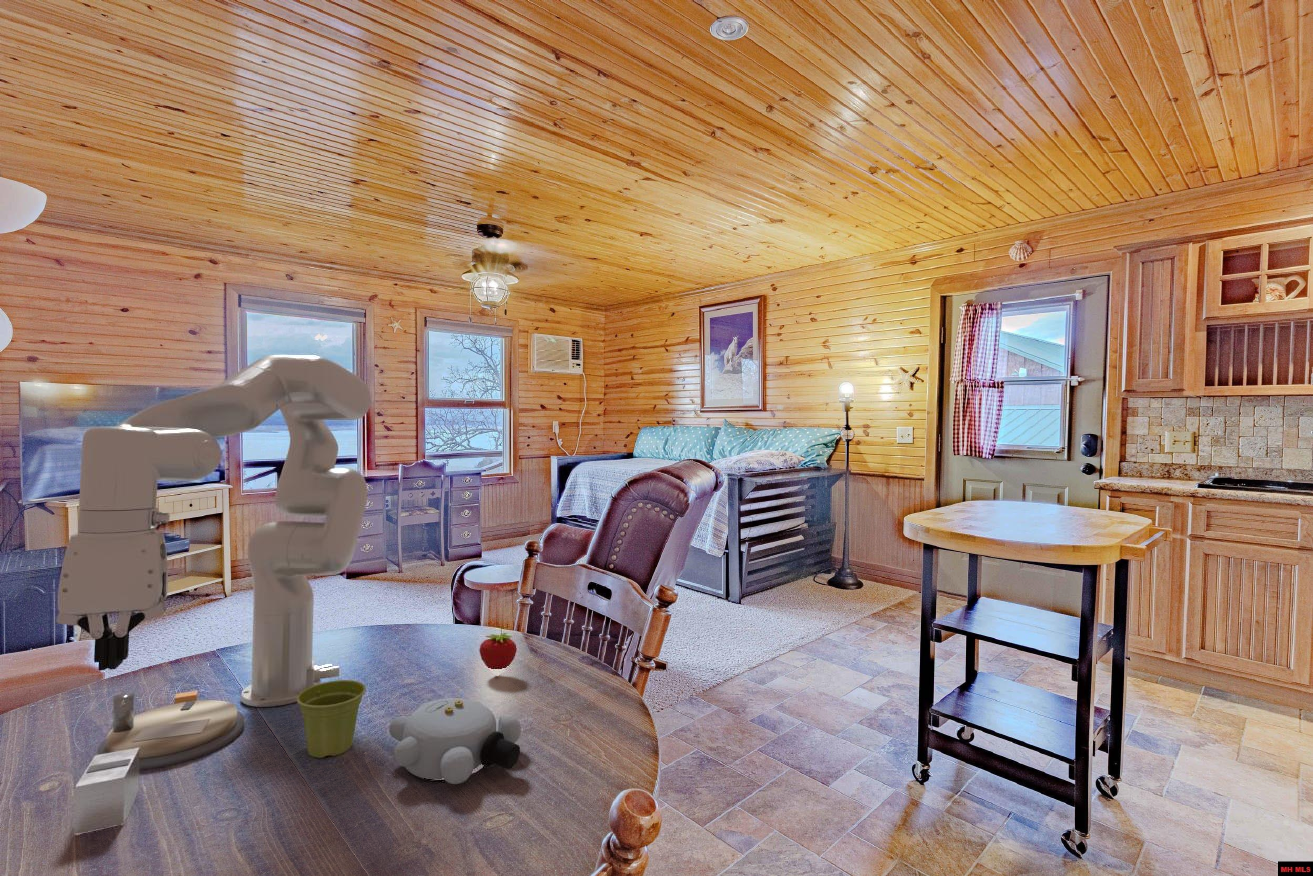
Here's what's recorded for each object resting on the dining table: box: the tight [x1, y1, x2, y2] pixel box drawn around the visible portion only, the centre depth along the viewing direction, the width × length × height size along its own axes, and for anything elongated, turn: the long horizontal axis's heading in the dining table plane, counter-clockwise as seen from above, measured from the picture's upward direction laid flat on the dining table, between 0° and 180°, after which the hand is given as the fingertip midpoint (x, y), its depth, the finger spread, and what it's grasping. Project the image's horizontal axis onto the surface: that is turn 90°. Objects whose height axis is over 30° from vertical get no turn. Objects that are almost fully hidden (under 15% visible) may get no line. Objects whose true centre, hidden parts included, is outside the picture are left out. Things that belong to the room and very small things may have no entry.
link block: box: [73, 747, 140, 834], centre depth 78 cm, size 4×8×6 cm, turn 30°
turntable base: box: [96, 690, 245, 771], centre depth 97 cm, size 18×20×3 cm
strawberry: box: [478, 625, 517, 669], centre depth 124 cm, size 6×8×10 cm
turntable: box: [106, 692, 238, 758], centre depth 96 cm, size 16×16×6 cm
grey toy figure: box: [389, 697, 522, 785], centre depth 92 cm, size 17×8×20 cm
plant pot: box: [296, 679, 367, 759], centre depth 94 cm, size 9×9×9 cm
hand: (110, 666), depth 79 cm, fingers closed
